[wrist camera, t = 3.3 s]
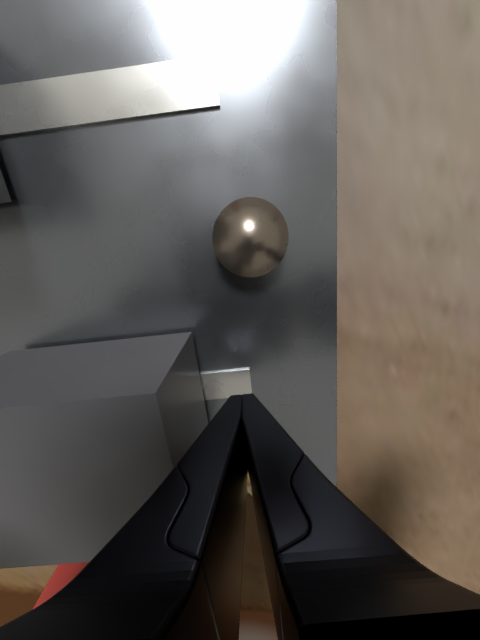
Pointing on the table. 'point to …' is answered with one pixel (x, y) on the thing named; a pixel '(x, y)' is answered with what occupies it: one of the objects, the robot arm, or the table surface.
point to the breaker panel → (178, 191)
